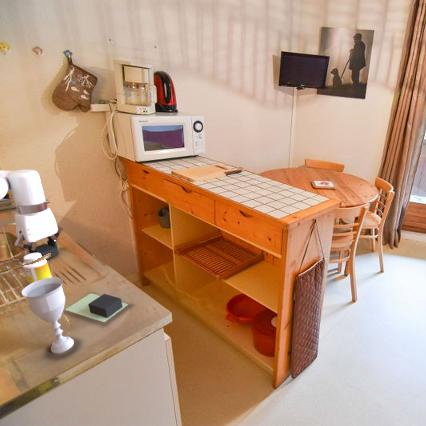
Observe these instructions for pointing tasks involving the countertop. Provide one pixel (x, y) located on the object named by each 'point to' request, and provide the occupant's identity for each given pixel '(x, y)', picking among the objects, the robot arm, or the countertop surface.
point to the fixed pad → (105, 305)
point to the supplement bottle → (36, 268)
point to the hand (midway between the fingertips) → (45, 254)
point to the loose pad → (47, 250)
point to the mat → (83, 308)
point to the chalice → (49, 307)
